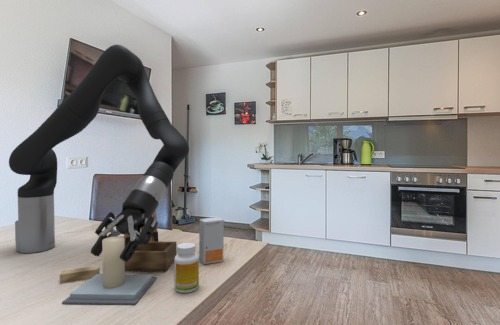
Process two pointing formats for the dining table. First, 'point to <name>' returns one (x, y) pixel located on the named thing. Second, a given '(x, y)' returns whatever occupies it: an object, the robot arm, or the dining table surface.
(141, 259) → the wooden box
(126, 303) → the mat
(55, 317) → the dining table surface
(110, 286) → the lid
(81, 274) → the wooden block
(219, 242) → the skincare box
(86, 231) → the dining table surface
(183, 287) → the supplement bottle
